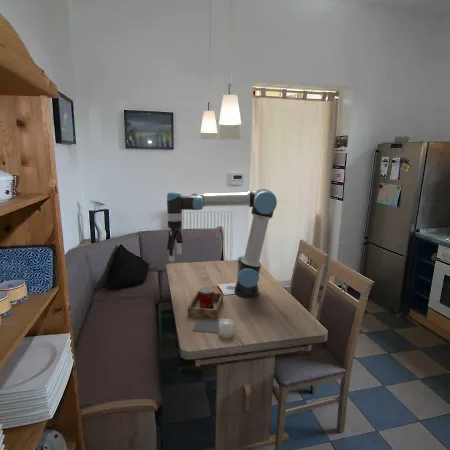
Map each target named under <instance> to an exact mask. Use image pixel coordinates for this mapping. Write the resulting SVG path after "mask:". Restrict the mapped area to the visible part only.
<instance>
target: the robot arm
mask: <svg viewBox="0 0 450 450" xmlns="http://www.w3.org/2000/svg"><path fill="white" fill-rule="evenodd" d="M276 197H277V196H275V194H274V193H273V192H272V191H270V190H269V189H266V188H261V189H254V190H248V191H246V192H222V193H218V192H217V193H216V192H215V193H196V192H195V193H193V194H191V195H182V193H181V192H179V191H170V192H168V193H167V194H166V207H167V214H166V216H167V220H168V221H167V228H168V229H170V231H168V238H167V246H166V247H167V248H166V250H167V251H168V261H169V262H175V249H174V248H175V243H176V255H182V244H183V243H184V241H183V236H182V231H181V228H182V227H183V225H182V224H183V223H182V219H183V218H182V211H183V210H185V211H201V210H203V208H204V207H235V206H236V207H239V206H240V207H241V206H242V207H245V206H246V207H248V208H251V211H250V212H251V215H252V221H251V225H250V229H249V235H248V238H247V243H246V248H245V253H244V255H240V256H238V258H237V279H236V283H235V286H234V287H233V288H234V289H233V291H234V292H235V293H234V295H236V296H238V297H242V298H254V297H257V296H258V295H259V293H260V289H259V285H258V283H259V280H260V271H261V268H262V263H261V262H260V259H261V255H262V250H263V246H264V241H265V238H266V234H267V229H268V224H269V221H270V219H272V218H273V216H274V212H275V210H276V208H277V204H278V201H277V198H276Z"/></svg>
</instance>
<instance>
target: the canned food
mask: <svg viewBox="0 0 450 450" xmlns="http://www.w3.org/2000/svg"><path fill="white" fill-rule="evenodd" d="M214 292H215V289H214V288H212V287H207V286H206V287H205V286H203V287H201V288H199V301H198V303H199V304H198V305H199V307H198V308H205V309H215V308H214V306H215V305H214V304H215V301H214Z"/></svg>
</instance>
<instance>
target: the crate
mask: <svg viewBox="0 0 450 450" xmlns="http://www.w3.org/2000/svg"><path fill="white" fill-rule="evenodd" d="M214 302H216V303H217V304H216V307H215V308H213V309H205V308H199V307H197V305H198V303H199V291H196V293H195V295H194V296H193V298H192V300H191V302H190V303H189V306H188V307H187V318H192V319H194V318H195V319H198V318H201V319H213V320H218V317H219V316H220V315H219V314H220V311H221V308H222V306H223V303H224V293H223V292H215V291H214Z"/></svg>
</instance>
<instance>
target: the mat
mask: <svg viewBox="0 0 450 450" xmlns="http://www.w3.org/2000/svg"><path fill="white" fill-rule="evenodd" d="M220 320H221V319H217V320H216V319H204V318H196V322H195V324H194V326H193V328H192V332H199V333H211V334H219V321H220Z"/></svg>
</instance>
